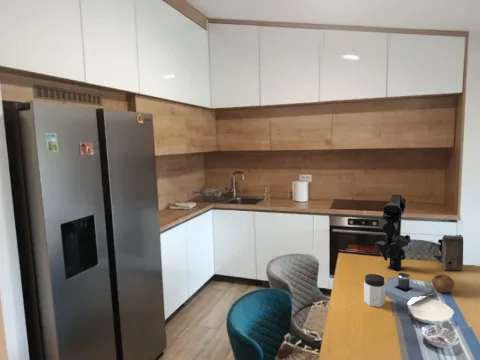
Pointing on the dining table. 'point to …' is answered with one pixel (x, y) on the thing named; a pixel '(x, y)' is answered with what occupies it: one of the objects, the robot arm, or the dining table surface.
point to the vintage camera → (451, 252)
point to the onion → (443, 283)
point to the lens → (403, 282)
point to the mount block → (402, 296)
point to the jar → (374, 290)
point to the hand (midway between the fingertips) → (391, 258)
